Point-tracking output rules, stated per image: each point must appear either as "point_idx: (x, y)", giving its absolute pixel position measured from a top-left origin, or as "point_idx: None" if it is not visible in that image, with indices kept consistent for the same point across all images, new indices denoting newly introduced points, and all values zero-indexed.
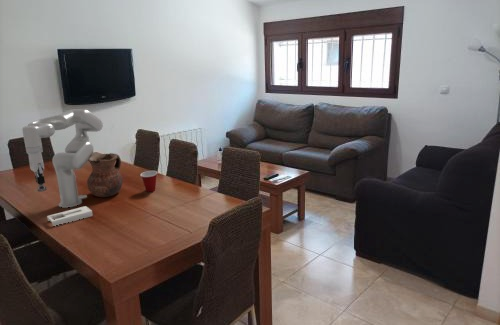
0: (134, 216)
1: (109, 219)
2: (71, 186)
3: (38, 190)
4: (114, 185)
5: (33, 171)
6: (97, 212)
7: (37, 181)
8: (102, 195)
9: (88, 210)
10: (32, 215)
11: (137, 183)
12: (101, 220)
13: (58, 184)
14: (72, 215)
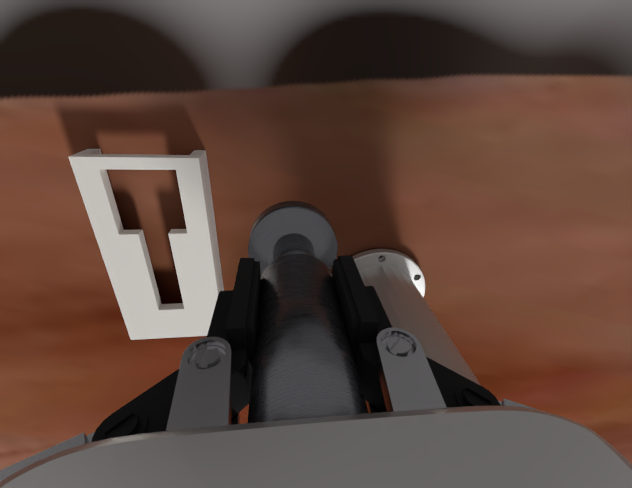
0: (35, 415)
1: (51, 354)
2: None
3: (268, 211)
4: None
5: (162, 437)
6: (175, 341)
7: (284, 274)
8: None
9: (146, 330)
10: (372, 108)
11: None
12: (56, 331)
13: (428, 347)
14: (115, 263)
